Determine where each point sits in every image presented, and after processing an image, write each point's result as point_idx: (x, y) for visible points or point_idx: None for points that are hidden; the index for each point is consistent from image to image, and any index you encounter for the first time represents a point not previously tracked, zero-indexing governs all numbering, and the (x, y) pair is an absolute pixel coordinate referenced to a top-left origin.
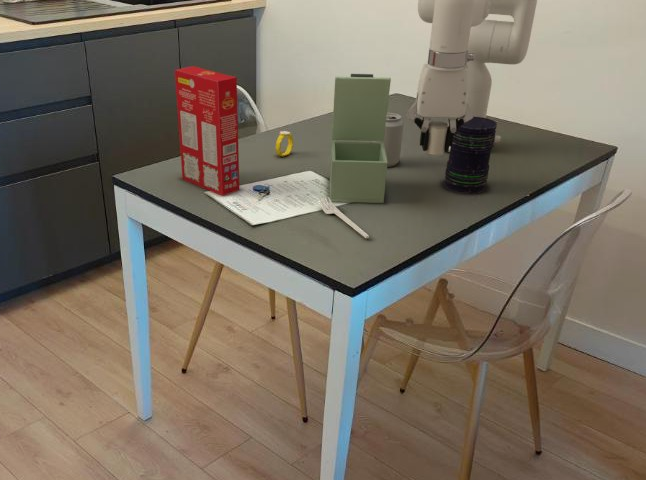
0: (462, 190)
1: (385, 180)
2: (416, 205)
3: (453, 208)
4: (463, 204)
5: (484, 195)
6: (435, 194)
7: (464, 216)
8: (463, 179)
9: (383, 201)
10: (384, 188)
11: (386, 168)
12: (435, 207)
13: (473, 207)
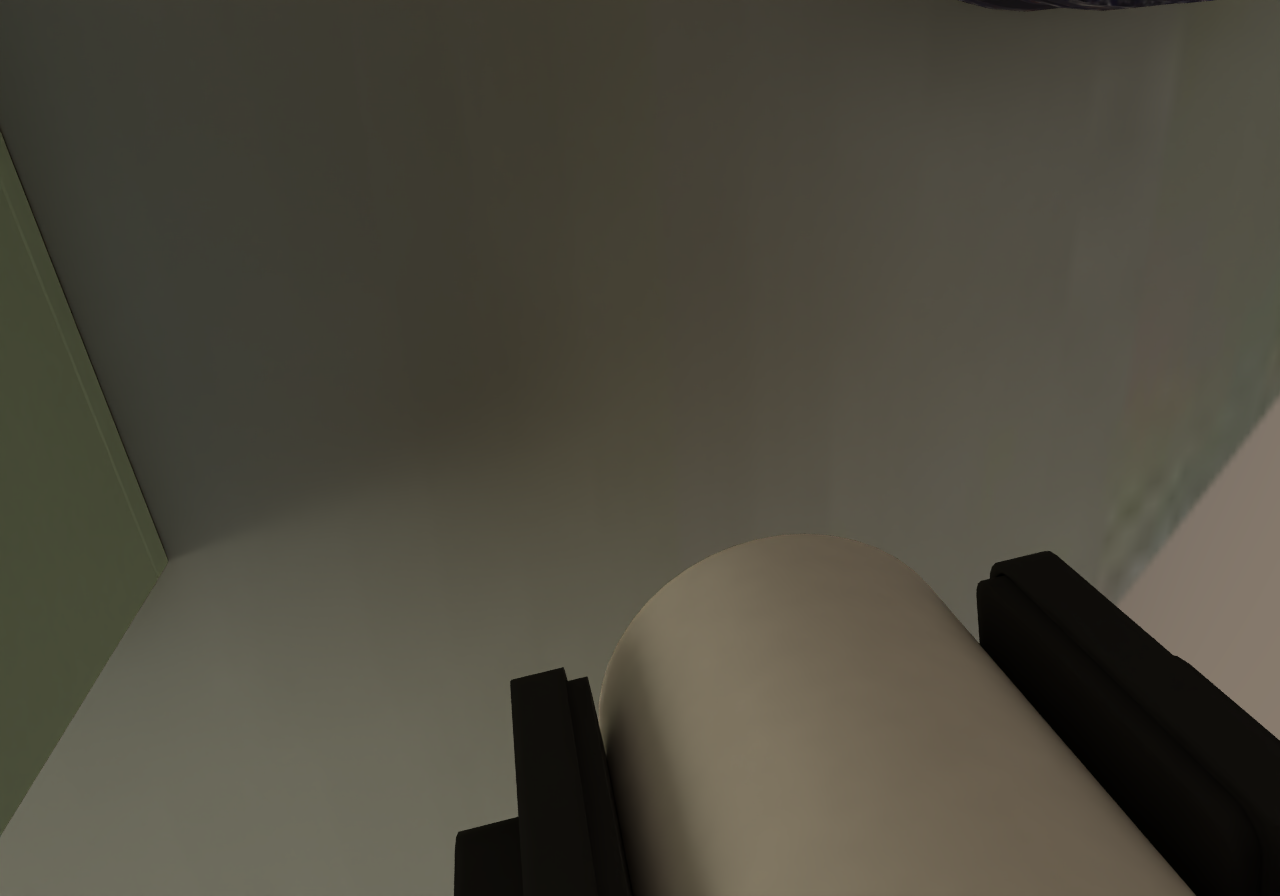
0: (1016, 4)
1: (77, 706)
2: (522, 509)
3: (883, 472)
4: (985, 341)
5: (1235, 6)
6: (698, 129)
7: (969, 618)
8: (1083, 3)
9: (161, 569)
10: (111, 651)
11: (6, 824)
12: (713, 501)
13: (1072, 390)
